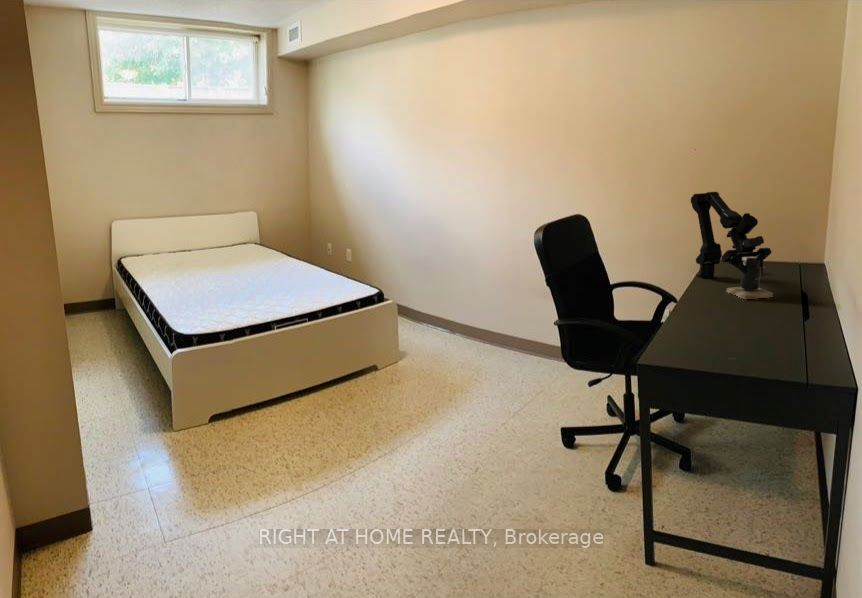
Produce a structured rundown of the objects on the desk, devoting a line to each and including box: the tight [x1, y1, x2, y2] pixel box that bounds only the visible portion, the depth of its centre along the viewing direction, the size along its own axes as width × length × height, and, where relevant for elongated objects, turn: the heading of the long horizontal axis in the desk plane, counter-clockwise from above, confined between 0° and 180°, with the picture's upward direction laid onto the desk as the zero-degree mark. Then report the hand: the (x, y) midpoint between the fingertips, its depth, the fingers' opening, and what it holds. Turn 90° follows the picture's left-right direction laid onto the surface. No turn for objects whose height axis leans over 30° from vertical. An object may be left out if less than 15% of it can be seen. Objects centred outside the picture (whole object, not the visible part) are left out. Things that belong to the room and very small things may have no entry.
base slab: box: [726, 286, 774, 301], centre depth 244 cm, size 12×12×2 cm
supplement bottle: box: [739, 257, 762, 290], centre depth 242 cm, size 7×7×12 cm
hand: (753, 272), depth 240 cm, fingers closed on supplement bottle, 7 cm apart
